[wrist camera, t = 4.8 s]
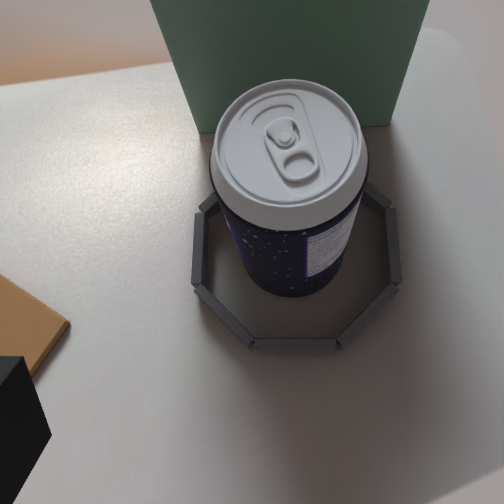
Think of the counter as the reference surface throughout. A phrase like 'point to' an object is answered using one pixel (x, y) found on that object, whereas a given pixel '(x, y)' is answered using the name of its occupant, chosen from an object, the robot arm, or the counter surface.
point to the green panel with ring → (301, 68)
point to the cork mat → (27, 325)
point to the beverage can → (289, 182)
